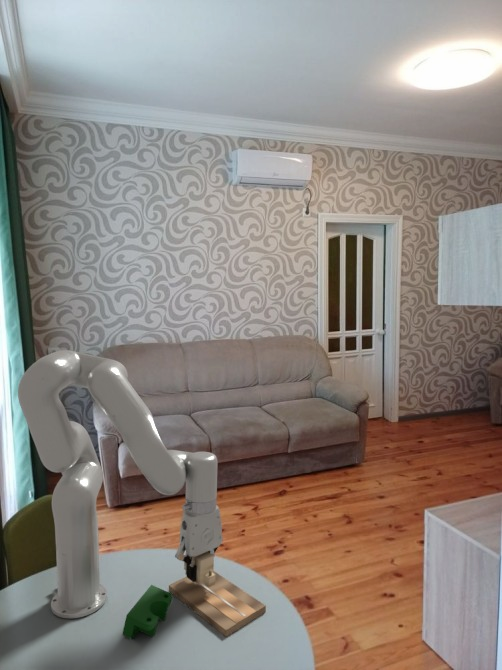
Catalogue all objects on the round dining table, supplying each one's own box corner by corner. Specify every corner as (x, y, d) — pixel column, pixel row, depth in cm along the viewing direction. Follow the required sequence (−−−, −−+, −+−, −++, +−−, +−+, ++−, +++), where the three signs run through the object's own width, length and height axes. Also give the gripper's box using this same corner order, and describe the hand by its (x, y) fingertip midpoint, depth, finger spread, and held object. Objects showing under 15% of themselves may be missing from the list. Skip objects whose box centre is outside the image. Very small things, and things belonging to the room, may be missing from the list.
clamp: (147, 657, 104) (147, 634, 99) (123, 645, 105) (121, 622, 101) (173, 606, 114) (174, 583, 109) (151, 596, 115) (151, 573, 110)
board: (168, 590, 120) (168, 584, 120) (207, 571, 128) (207, 566, 128) (226, 636, 104) (226, 629, 104) (265, 611, 112) (265, 605, 112)
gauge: (180, 570, 121) (181, 547, 121) (193, 565, 124) (194, 542, 123) (205, 589, 114) (205, 564, 113) (218, 582, 117) (219, 558, 116)
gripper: (181, 519, 109) (179, 596, 110) (236, 499, 120) (234, 570, 122) (163, 508, 114) (161, 581, 116) (217, 490, 126) (216, 557, 127)
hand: (199, 575), depth 119 cm, fingers closed on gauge, 4 cm apart
